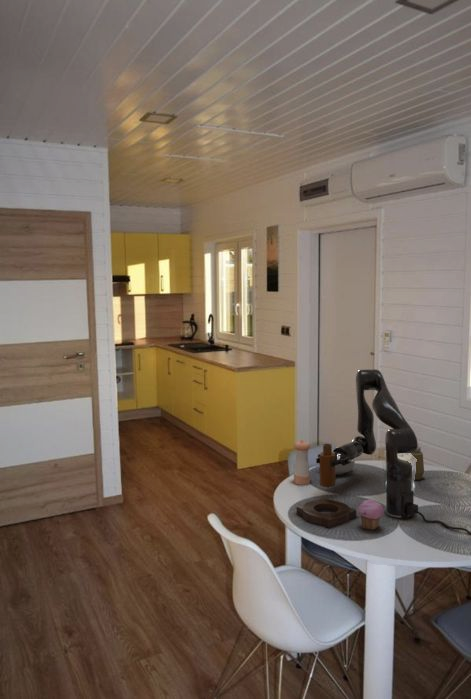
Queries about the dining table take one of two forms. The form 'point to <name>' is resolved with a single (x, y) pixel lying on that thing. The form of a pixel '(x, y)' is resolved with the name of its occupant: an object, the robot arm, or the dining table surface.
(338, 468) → the cereal bowl
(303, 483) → the pepper shaker
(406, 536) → the dining table surface
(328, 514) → the board
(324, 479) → the bottle
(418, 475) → the squeeze bottle
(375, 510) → the cupcake
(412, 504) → the robot arm
